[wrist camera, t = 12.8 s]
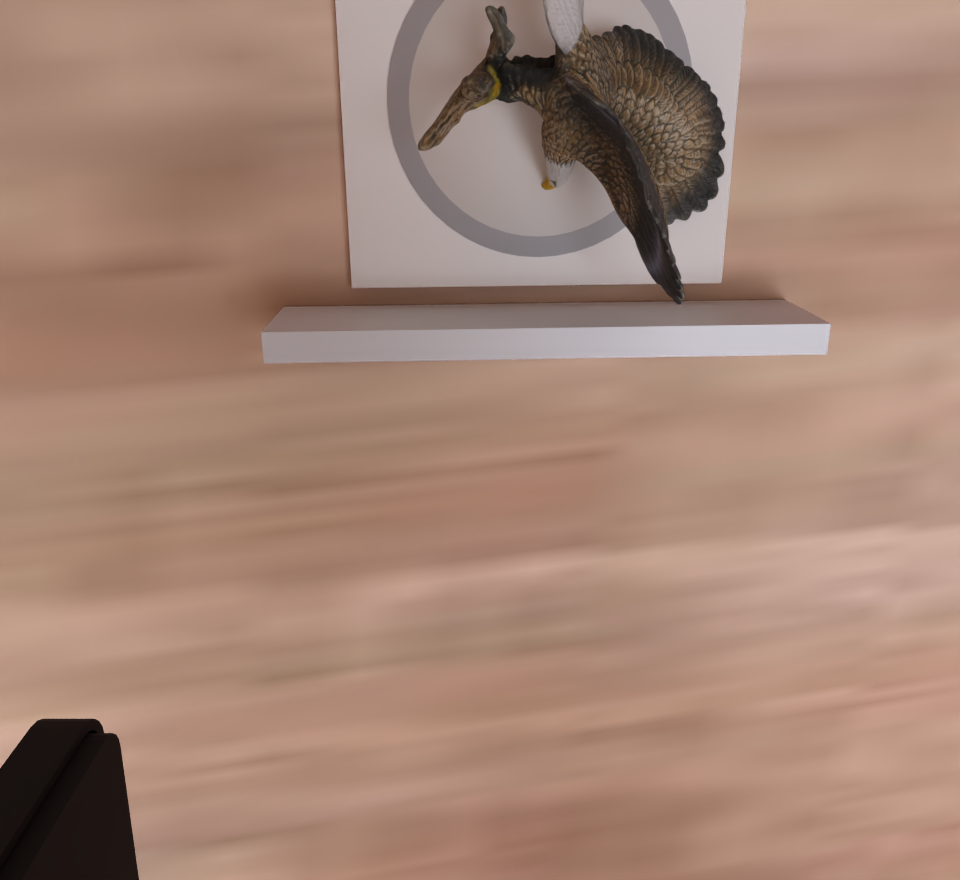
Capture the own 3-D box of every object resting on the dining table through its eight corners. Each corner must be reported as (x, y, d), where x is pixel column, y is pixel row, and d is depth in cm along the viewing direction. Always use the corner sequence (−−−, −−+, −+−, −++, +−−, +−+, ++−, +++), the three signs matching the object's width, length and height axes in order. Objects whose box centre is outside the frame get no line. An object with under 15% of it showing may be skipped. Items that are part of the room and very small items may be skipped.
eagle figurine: (405, 216, 28) (648, 347, 29) (422, 74, 22) (742, 247, 22) (509, 47, 31) (735, 169, 31) (554, -131, 24) (845, 27, 24)
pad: (751, -107, 27) (756, -111, 27) (718, 281, 31) (722, 283, 31) (330, -107, 27) (328, -111, 26) (353, 286, 31) (351, 288, 30)
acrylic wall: (785, 299, 32) (830, 323, 28) (781, 326, 32) (826, 354, 28) (283, 306, 31) (260, 332, 27) (285, 334, 31) (263, 363, 28)
